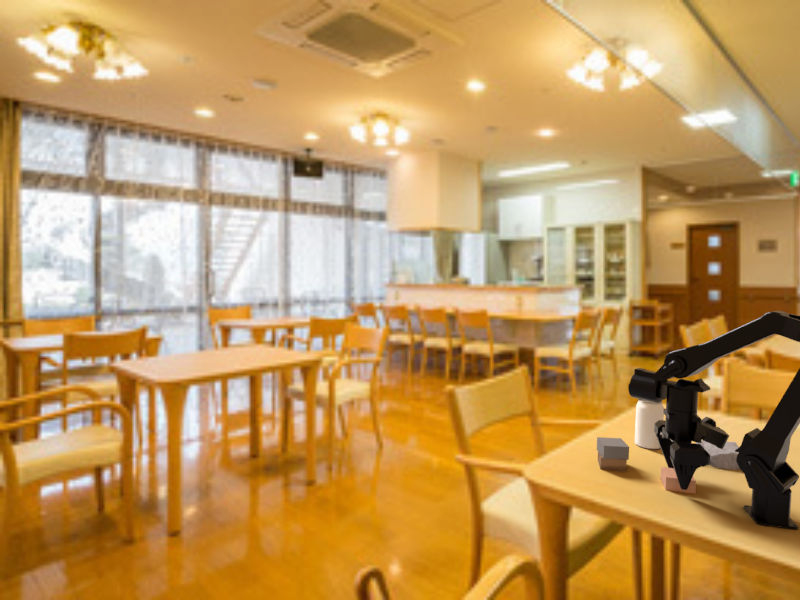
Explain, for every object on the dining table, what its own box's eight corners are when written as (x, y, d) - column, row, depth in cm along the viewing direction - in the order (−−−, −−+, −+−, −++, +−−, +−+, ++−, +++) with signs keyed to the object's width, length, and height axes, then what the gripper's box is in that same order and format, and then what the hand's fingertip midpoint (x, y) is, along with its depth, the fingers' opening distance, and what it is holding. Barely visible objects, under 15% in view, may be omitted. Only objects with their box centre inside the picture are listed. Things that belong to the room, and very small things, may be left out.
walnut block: (626, 473, 110) (626, 460, 109) (600, 470, 111) (600, 457, 111) (622, 463, 115) (622, 451, 115) (597, 460, 116) (598, 448, 116)
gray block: (628, 459, 110) (629, 446, 110) (603, 458, 110) (604, 445, 110) (620, 450, 115) (621, 438, 115) (596, 449, 116) (597, 437, 116)
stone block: (712, 476, 112) (759, 471, 110) (708, 456, 112) (755, 451, 110) (691, 458, 124) (734, 453, 122) (688, 439, 124) (730, 435, 122)
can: (647, 451, 122) (649, 404, 121) (628, 442, 128) (630, 398, 127) (668, 448, 124) (670, 403, 123) (648, 439, 130) (650, 396, 129)
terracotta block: (695, 494, 99) (695, 480, 99) (665, 490, 101) (666, 477, 101) (688, 483, 105) (689, 470, 104) (660, 479, 106) (660, 466, 106)
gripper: (743, 426, 90) (738, 506, 91) (710, 399, 108) (706, 467, 109) (677, 420, 93) (673, 497, 95) (655, 395, 111) (652, 461, 112)
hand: (677, 479), depth 103 cm, fingers open, 9 cm apart
